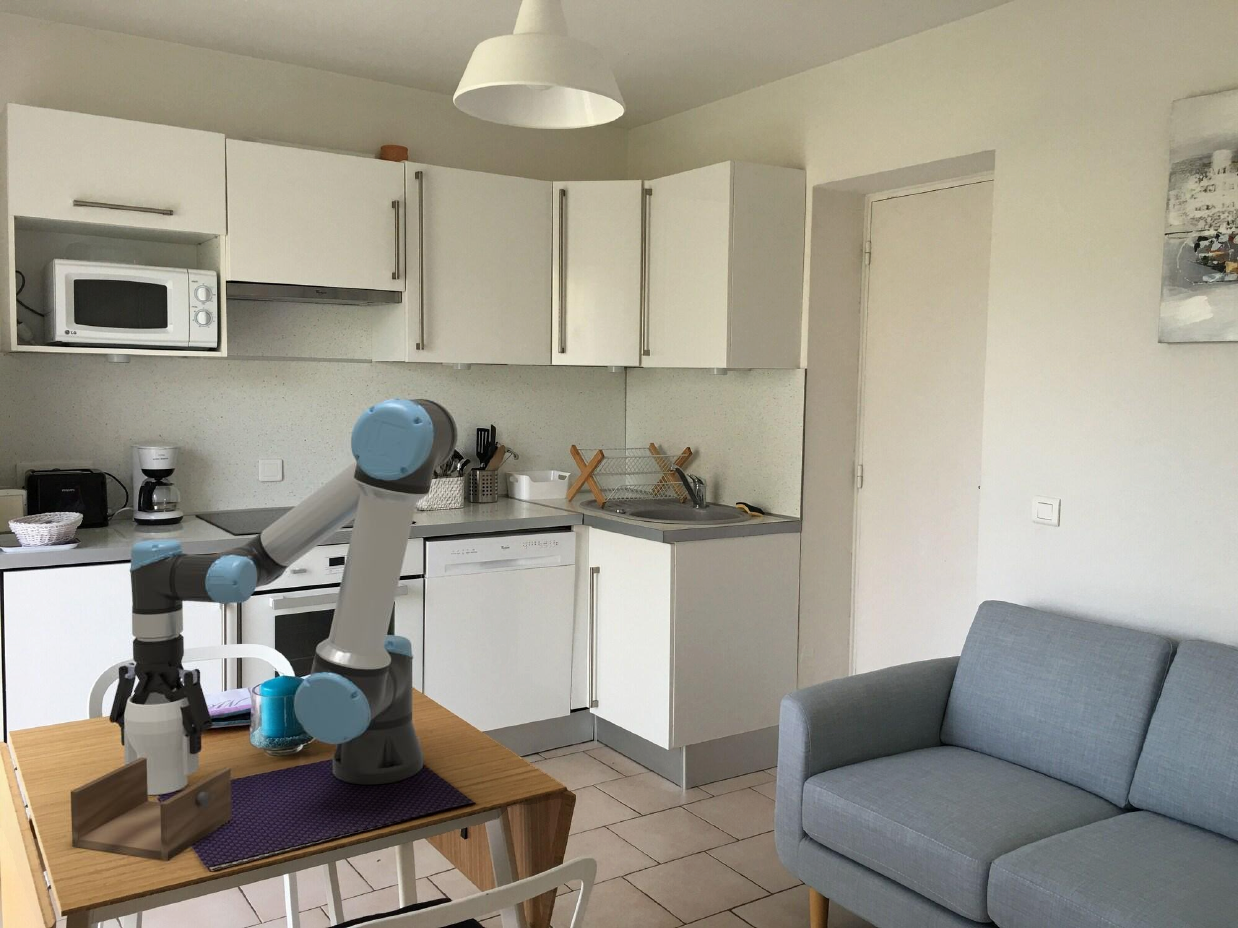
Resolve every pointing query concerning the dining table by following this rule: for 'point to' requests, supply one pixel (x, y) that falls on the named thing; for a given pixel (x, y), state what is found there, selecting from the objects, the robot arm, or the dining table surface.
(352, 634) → the robot arm
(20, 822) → the dining table surface
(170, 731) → the cup
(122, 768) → the holder
